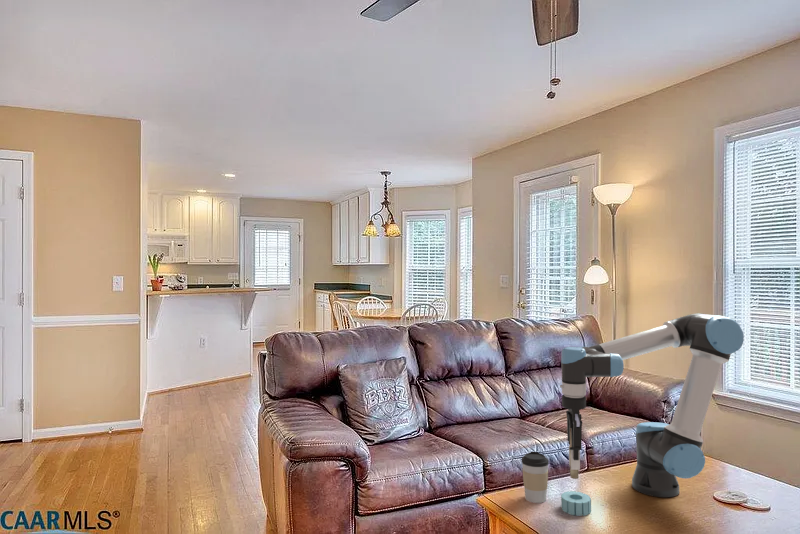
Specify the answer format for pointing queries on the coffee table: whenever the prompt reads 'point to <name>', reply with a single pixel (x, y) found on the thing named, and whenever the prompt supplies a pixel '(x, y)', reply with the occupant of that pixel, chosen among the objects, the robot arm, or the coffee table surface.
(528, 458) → the coffee cup
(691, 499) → the coffee table surface
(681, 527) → the coffee table surface
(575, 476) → the tan cylindrical rod
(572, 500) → the bead
